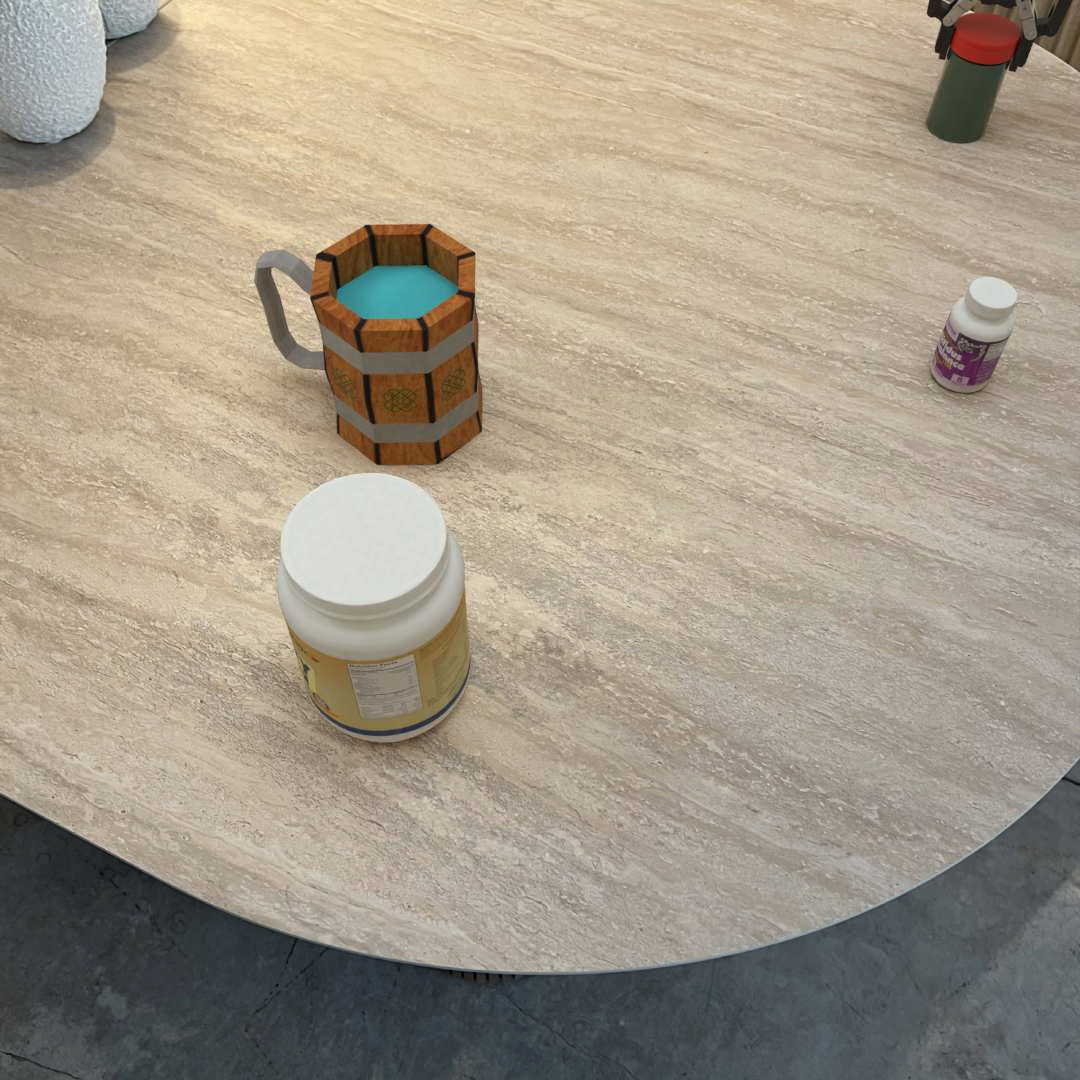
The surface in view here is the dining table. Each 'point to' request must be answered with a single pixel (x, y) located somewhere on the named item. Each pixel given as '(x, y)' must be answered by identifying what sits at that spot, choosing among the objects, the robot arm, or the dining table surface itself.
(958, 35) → the lid
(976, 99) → the jar
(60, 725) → the dining table surface
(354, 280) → the mug
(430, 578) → the supplement tub
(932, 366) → the pill bottle
